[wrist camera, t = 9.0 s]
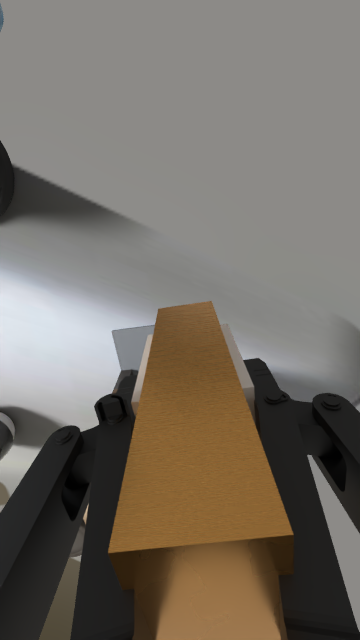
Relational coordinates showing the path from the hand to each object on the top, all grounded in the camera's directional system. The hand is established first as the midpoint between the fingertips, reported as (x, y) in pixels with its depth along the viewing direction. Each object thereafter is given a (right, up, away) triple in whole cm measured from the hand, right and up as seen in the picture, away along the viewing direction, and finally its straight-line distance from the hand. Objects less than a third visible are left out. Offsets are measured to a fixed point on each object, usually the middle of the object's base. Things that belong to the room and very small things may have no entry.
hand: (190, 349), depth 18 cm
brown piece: (+2, -9, +5) cm, 10 cm away
